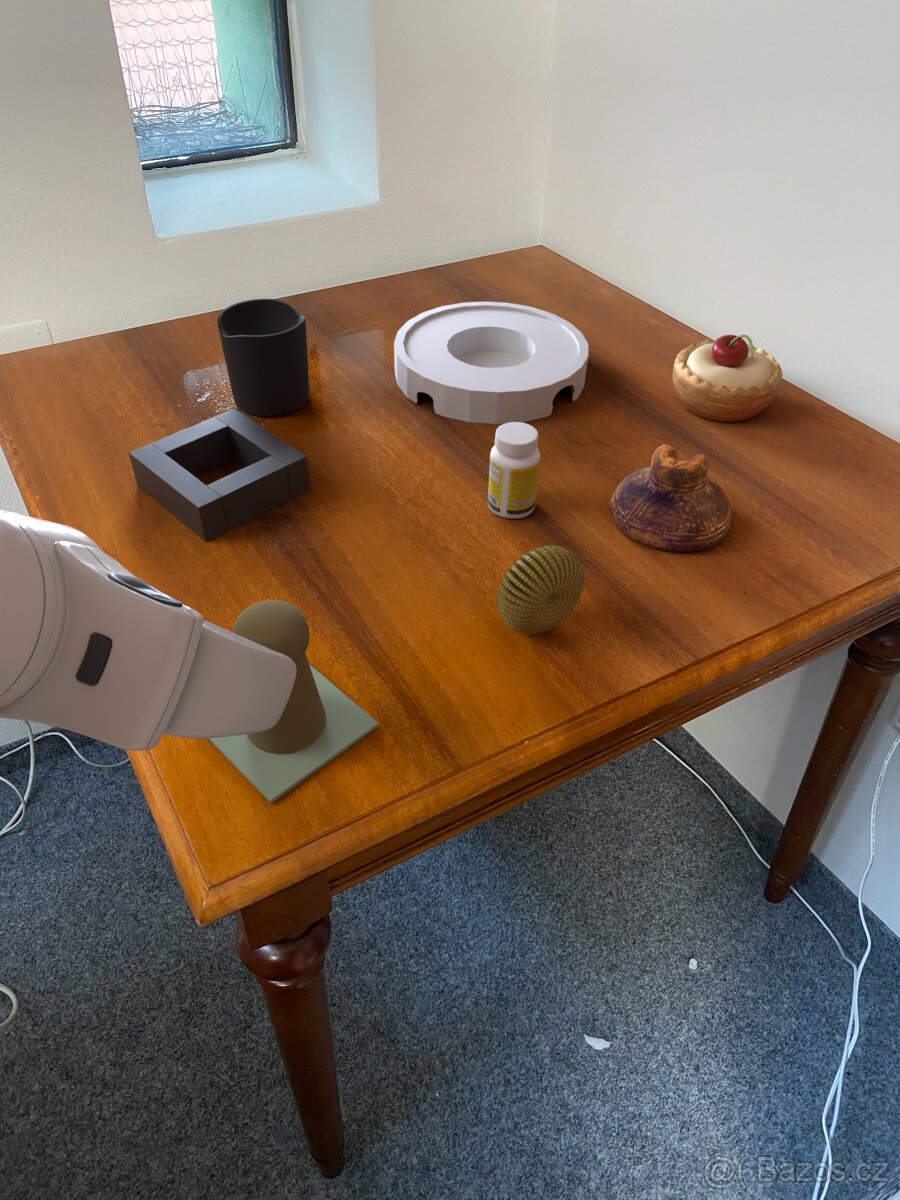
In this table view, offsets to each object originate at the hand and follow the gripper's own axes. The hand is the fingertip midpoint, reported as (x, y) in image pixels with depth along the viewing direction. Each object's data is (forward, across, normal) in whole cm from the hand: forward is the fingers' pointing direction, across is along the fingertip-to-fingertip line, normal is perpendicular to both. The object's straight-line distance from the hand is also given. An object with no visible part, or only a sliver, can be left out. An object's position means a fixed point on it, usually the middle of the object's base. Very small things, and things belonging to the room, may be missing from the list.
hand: (196, 633), depth 52 cm
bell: (+43, +18, +22) cm, 51 cm away
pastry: (+60, +16, +39) cm, 74 cm away
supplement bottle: (+38, +3, +18) cm, 42 cm away
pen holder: (+42, -30, +21) cm, 56 cm away
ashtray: (+55, -10, +34) cm, 65 cm away
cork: (+14, 0, -6) cm, 16 cm away
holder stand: (+30, -23, +9) cm, 39 cm away
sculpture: (+28, +13, +7) cm, 32 cm away
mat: (+15, 0, -6) cm, 16 cm away
